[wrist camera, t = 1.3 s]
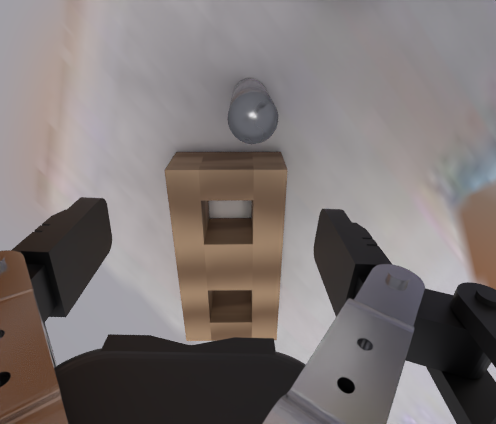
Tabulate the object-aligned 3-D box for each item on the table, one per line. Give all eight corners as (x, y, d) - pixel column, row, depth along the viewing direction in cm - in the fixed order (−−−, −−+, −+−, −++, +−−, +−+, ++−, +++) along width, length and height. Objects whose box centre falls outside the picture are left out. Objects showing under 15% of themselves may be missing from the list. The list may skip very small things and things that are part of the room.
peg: (232, 78, 27) (227, 92, 18) (267, 78, 27) (279, 92, 18) (233, 114, 28) (228, 143, 19) (266, 114, 28) (276, 143, 19)
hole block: (176, 152, 30) (164, 170, 25) (280, 151, 30) (287, 169, 25) (193, 307, 39) (186, 340, 34) (272, 307, 39) (276, 339, 35)
